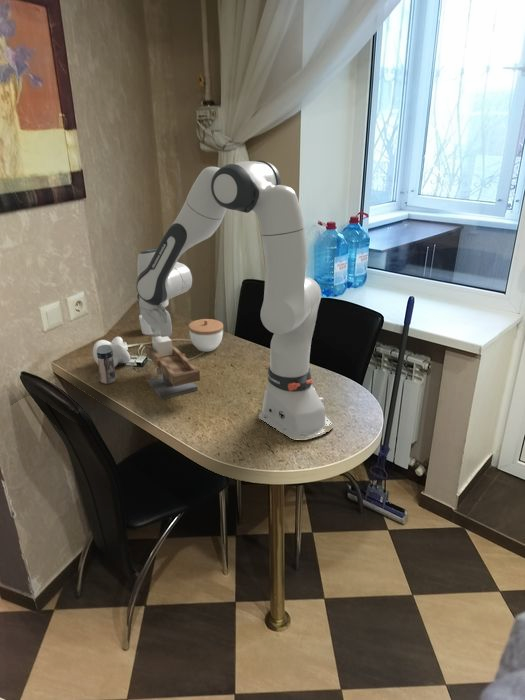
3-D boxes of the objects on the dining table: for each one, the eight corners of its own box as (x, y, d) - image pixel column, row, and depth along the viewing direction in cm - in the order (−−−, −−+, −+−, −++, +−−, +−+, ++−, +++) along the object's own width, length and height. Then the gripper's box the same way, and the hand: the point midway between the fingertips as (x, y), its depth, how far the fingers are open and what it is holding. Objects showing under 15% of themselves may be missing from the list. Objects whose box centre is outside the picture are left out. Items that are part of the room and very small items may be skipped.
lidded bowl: (182, 346, 187) (181, 319, 182) (210, 338, 195) (209, 311, 190) (202, 357, 179) (201, 329, 174) (230, 348, 186) (230, 321, 182)
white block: (172, 354, 161) (171, 340, 158) (158, 357, 158) (157, 343, 156) (167, 348, 164) (166, 334, 162) (153, 351, 162) (151, 337, 160)
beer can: (111, 385, 159) (107, 351, 154) (97, 383, 160) (93, 349, 155) (118, 378, 163) (114, 345, 158) (104, 376, 164) (100, 343, 159)
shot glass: (152, 327, 203) (151, 311, 200) (161, 332, 198) (159, 316, 195) (137, 331, 199) (135, 314, 196) (145, 336, 194) (144, 320, 191)
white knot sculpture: (103, 376, 164) (100, 351, 160) (88, 363, 172) (84, 339, 169) (134, 366, 171) (132, 342, 167) (118, 354, 179) (115, 331, 175)
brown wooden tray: (206, 399, 152) (205, 369, 148) (169, 409, 147) (167, 378, 142) (175, 366, 172) (174, 338, 167) (141, 374, 166) (139, 345, 162)
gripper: (175, 308, 152) (178, 349, 158) (153, 289, 168) (156, 327, 173) (155, 311, 149) (158, 353, 155) (134, 292, 165) (138, 330, 171)
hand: (157, 339), depth 164 cm, fingers closed
